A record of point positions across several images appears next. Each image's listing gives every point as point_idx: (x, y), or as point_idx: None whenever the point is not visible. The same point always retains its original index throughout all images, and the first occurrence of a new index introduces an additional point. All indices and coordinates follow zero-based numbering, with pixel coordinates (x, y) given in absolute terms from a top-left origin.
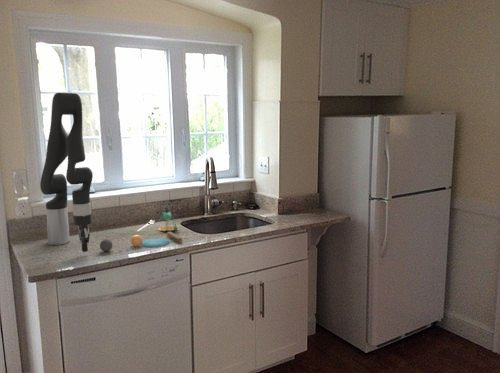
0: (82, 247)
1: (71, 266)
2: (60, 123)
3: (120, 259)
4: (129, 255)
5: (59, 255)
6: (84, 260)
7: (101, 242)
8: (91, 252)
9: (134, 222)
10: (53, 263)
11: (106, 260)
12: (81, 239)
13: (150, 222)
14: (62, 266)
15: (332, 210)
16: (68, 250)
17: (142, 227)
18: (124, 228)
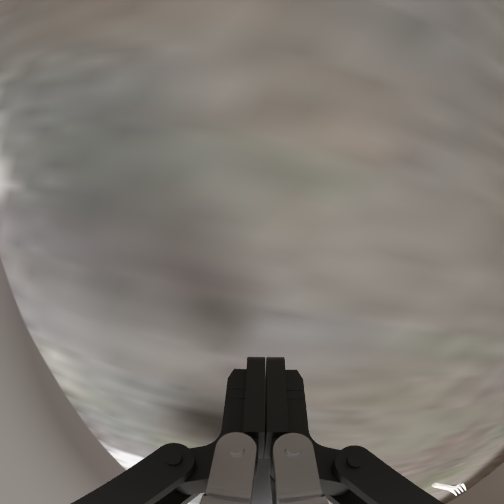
0: (244, 395)
1: (8, 182)
2: None
3: (85, 422)
4: (134, 456)
5: (423, 129)
6: (108, 302)
7: (256, 487)
8: (305, 385)
9: (501, 460)
10: (150, 16)
11: (79, 388)
12: (242, 488)
13: (459, 487)
14: (28, 109)
15: None
16: (493, 249)
17: (441, 488)
18: (491, 454)
